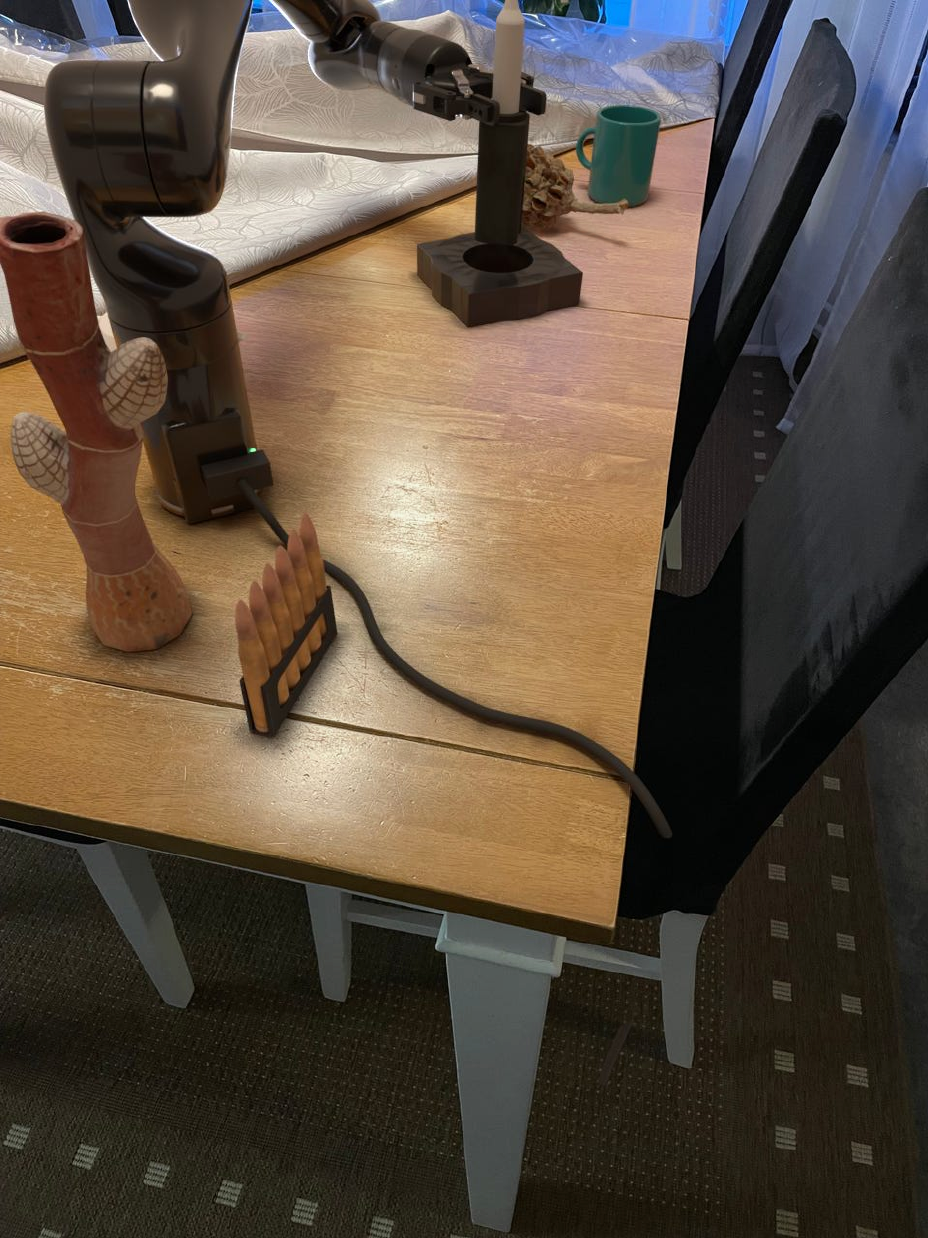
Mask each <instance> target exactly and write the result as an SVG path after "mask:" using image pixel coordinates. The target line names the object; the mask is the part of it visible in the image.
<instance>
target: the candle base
mask: <svg viewBox="0 0 928 1238" xmlns="http://www.w3.org/2000/svg"><path fill="white" fill-rule="evenodd" d="M583 275H584V272H583V271H582V270H580V269H579V268H578V267H577V266H575V264H573V263H572V262H571V261H569V260H568V259H567V258H566V257H565V256H564V254H563V252H562V251H561V250H560V248H558V247H556V246H555V245H554V244H552V243H550V242H548V241H546V240H543V239H542V238H540V237H539V236H537V235H536V234H535V233H533V231H532V230H530V229H529V228H527V227H526V226H524V225H521V233H520V234H519V235H518V240H517V243H516V244H514V245H499V244H490V243H482V242H478V241H476V240H475V231H473V232H466V233H461V234H457V235H455V236H451V237H448V238H443V239H436V240H430V241H425V242H418V243H416V276H417V277H418V278H419V279H420V280H421V281H422V282H423V283H424V284H425V285H426V286H427V287H428V288H429V289H430V290H431V294H432V297H433V298H434V300H436V301H437V302H438V304H439V305H441V306H443V307H444V308H446V309H448V310H449V311H451V312H452V313H453V314H454V315H455V316H456V317H457V318H458V319H459V320H461V322H462V323H463V324H464V325H465V326H466V327H467V328H470V327H474V326H479V325H480V326H481V325H484V324H485V325H486V324H490V323H494V322H499V321H500V322H501V321H514V320H515V321H518V320H522V319H528V318H533V317H537V316H539V315H541V314H544V313H546V312H549V311H554V310H559V309H563V308H569V307H573V306H574V307H575V306H578V305H580V300H581V292H582V285H583Z"/></svg>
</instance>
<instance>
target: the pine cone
mask: <svg viewBox="0 0 928 1238" xmlns="http://www.w3.org/2000/svg"><path fill="white" fill-rule="evenodd" d="M574 182H575V175H574V171H573V170H572V169H569V168H567V167H566V166H565V163H564V161H563V160H562V159H561V158H555V157H554V155H553V154H552V153H546V154H545V150H544V149H543V147H542V146H541V145H538V146H534V145H533V144H532V143H528V146H527V159H526V172H525V185H524V198H523V211H522V224H521V225H525V224H527V223H529V225H531V226H532V227H536V226H538V225H540V224H542V226H543V228H545V229H546V230H549V229H553V228H554V227H555V226H556V224H557V220H558V219H560V218H561V217H562V216H564V215H569V214H570V213H571V212H573V213H581V214H582V213H587V214H591V215H595V214H598V215H616V214H617V215H619V214H620V215H622V216H623V215H624V214H625V211H626V210H627V209H628V208H629V207H628V200H625V199H623V200H622V201H620V202H617V203H612V204H600V203H597V202H595V203H589V202H585V201H580V200H578V199H579V198H576V195H575V193H574V191H573V186H574Z"/></svg>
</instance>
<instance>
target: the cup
mask: <svg viewBox="0 0 928 1238" xmlns="http://www.w3.org/2000/svg"><path fill="white" fill-rule="evenodd" d="M661 122H662V116H661V114H660V113H659V112H658V111H656V110H654V109H652V108H648V107H645V106H639V105H630V104H615V105H608V106H604V107H601V108H599V109H598V110H597V111H596V117H595V125H592V126H590V127H587V128H586V129H584V130H583V131H582V132H581V133H580V134H579V136H578V138H577V140H576V145H575V152H576V157H577V159H578V161H579V163H580V164H581V166H582V167H584V168H585V169H586V170H588V171H589V178H588V186H587V194H588V196H589V197H590V199H591V200H592V201H594V202H595V203H597V204H612V203H617V202H620V201H622V200H623V199H625V200H628V208H631V207H635V206H639V205H641V204H643V203H645V202H646V201H647V200H648V198H649V196H650V195H649V194H650V189H651V183H652V177H653V172H654V171H653V170H654V166H655V165H654V164H655V158H656V153H657V145H658V139H659V134H660V129H661V128H660V127H661ZM590 135H593V142H592V151H591V159H588V158H587V157H586V155H585V151H584V143H585V141H586V139H587V138H588V137H589V136H590Z"/></svg>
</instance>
